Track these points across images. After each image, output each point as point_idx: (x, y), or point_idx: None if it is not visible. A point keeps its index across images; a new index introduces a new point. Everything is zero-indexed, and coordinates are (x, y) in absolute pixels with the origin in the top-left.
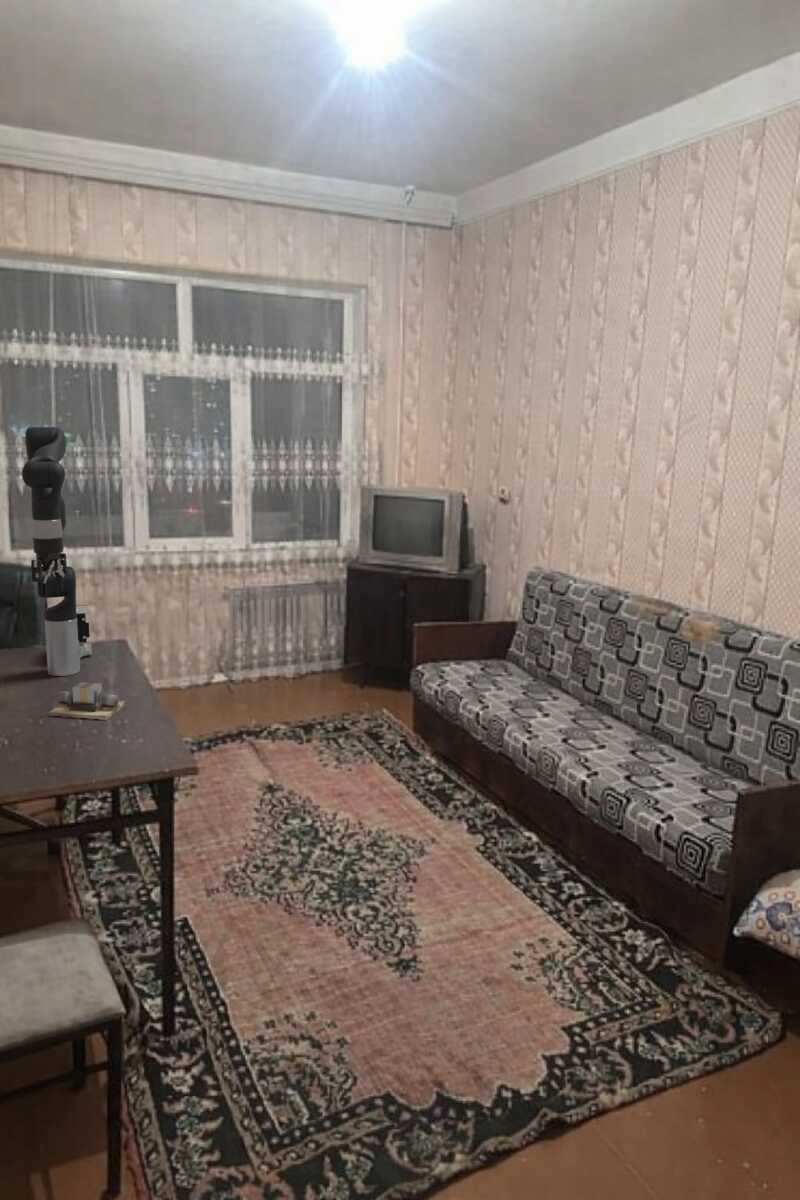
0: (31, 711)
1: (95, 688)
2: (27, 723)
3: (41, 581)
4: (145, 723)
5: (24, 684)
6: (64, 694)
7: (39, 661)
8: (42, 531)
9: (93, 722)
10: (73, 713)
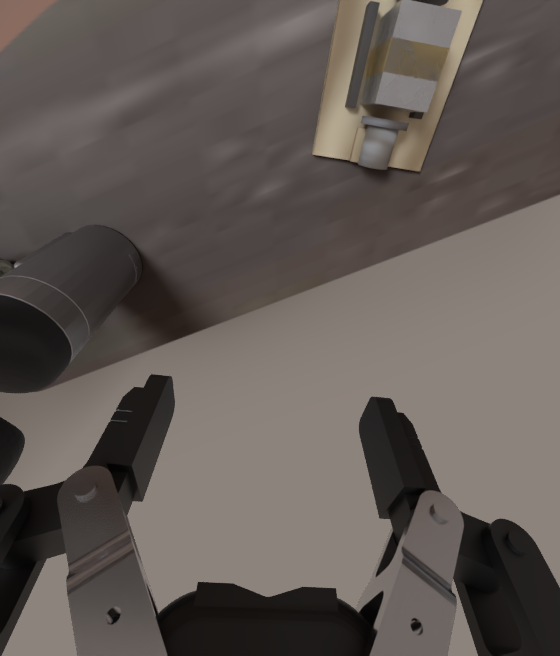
0: (375, 224)
1: (446, 9)
2: (454, 201)
3: (508, 527)
4: None
5: (209, 302)
6: (391, 148)
7: None
8: None
9: (498, 4)
10: (447, 93)
